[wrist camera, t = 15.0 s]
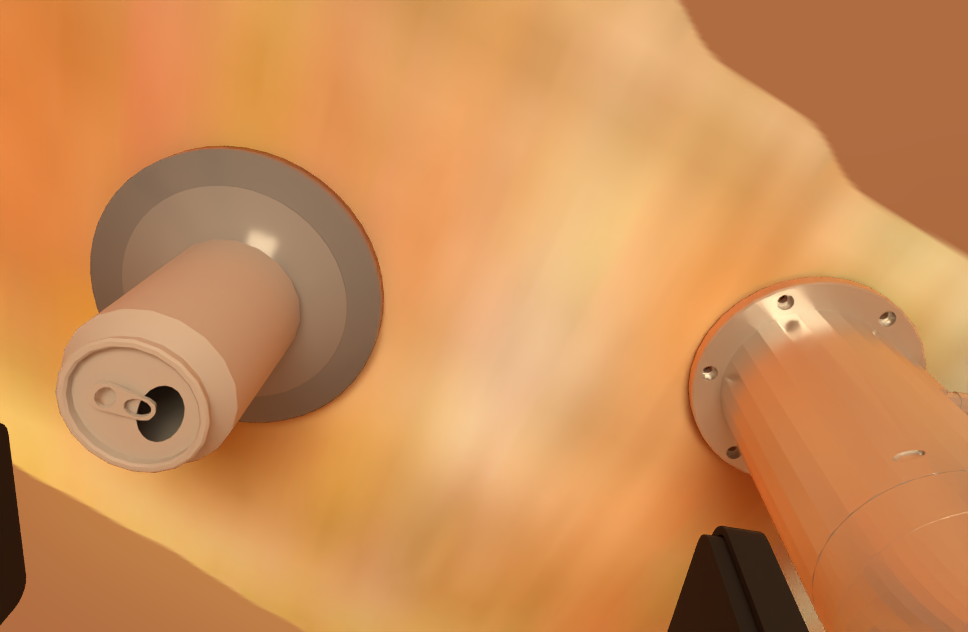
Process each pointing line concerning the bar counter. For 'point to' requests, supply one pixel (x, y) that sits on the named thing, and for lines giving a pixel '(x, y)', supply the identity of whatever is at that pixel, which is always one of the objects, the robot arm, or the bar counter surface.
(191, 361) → the can
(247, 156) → the dish
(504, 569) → the bar counter surface
